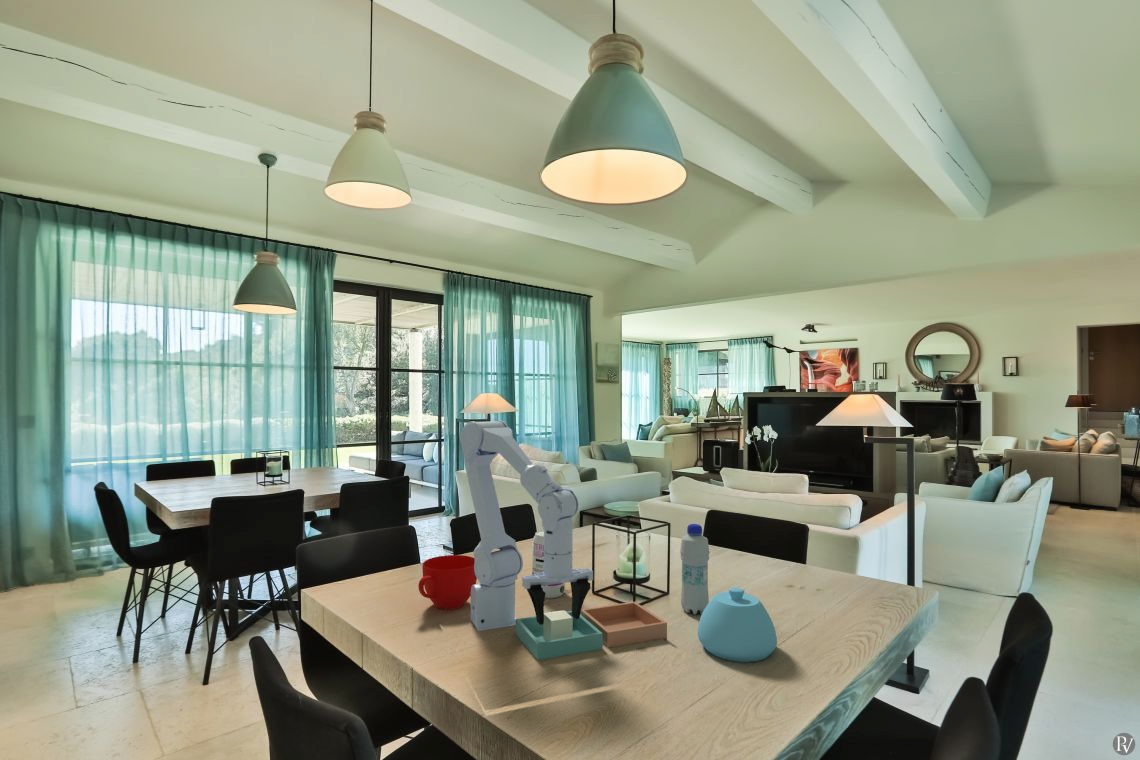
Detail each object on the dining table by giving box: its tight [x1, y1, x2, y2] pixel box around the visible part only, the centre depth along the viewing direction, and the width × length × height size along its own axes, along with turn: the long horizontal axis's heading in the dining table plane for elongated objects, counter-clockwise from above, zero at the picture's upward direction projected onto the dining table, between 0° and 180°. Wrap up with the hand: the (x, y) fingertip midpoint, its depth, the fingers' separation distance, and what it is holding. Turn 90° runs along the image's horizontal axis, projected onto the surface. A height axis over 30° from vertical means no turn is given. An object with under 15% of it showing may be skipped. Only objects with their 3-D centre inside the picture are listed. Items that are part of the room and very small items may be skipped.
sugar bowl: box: [697, 587, 778, 663], centre depth 117 cm, size 15×15×12 cm
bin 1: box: [515, 610, 604, 661], centre depth 118 cm, size 13×13×4 cm
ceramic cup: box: [418, 554, 478, 610], centre depth 138 cm, size 13×17×10 cm
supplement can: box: [531, 530, 566, 599], centre depth 148 cm, size 8×8×15 cm
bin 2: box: [580, 601, 668, 649], centre depth 124 cm, size 13×13×4 cm
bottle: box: [679, 523, 710, 615], centre depth 137 cm, size 7×7×20 cm
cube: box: [543, 609, 573, 641], centre depth 118 cm, size 4×4×5 cm
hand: (558, 620), depth 118 cm, fingers open, 7 cm apart
